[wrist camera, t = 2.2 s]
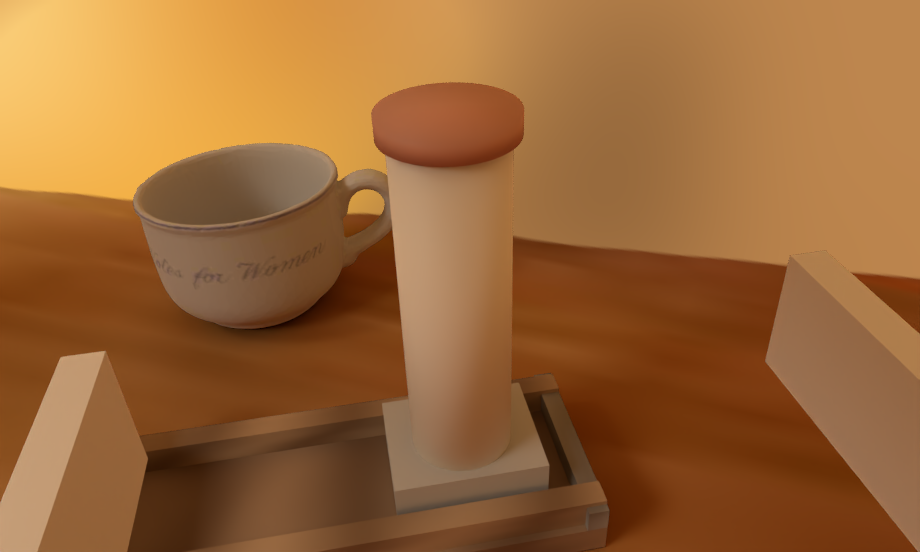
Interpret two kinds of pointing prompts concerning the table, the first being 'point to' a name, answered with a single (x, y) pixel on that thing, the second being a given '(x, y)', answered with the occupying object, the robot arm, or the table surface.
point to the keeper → (455, 297)
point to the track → (351, 489)
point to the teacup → (254, 230)
